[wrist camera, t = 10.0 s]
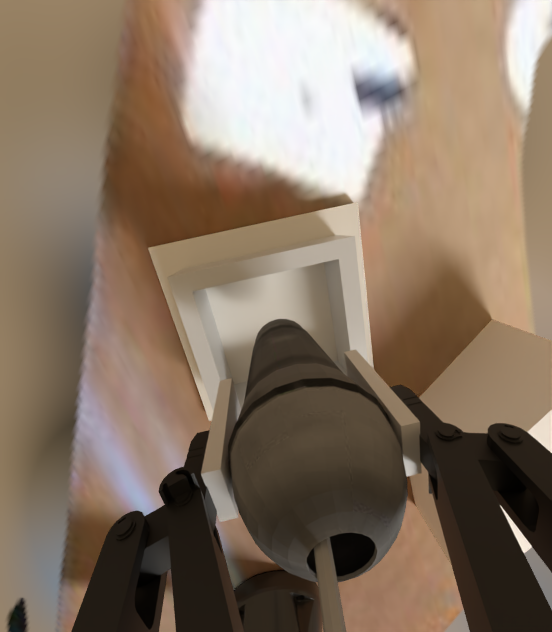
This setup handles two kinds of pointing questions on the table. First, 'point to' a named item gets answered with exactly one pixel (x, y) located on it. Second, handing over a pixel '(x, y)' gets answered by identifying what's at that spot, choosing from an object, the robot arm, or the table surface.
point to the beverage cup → (315, 466)
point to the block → (491, 399)
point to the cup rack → (266, 292)
